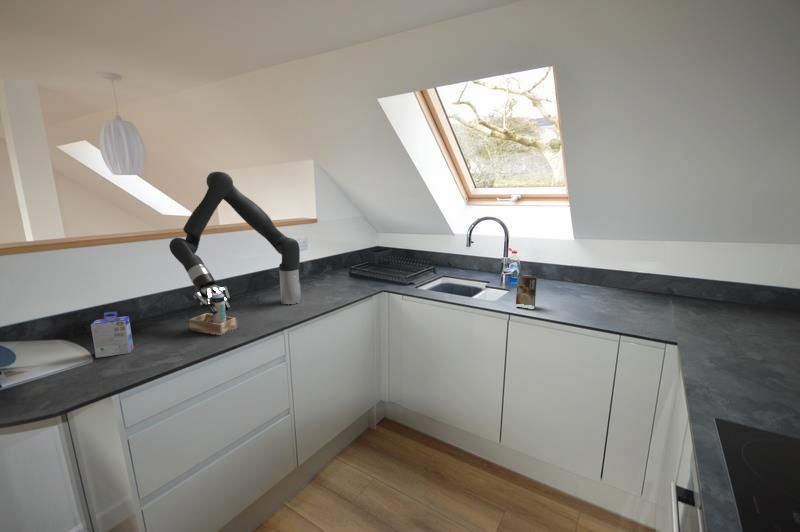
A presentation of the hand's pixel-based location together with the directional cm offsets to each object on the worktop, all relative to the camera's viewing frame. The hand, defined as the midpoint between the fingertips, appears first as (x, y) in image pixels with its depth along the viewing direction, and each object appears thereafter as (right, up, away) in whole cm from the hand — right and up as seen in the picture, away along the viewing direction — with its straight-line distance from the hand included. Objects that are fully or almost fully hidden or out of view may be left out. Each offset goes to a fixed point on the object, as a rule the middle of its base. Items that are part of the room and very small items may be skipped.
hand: (221, 311), depth 147 cm
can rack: (-5, -8, +4) cm, 10 cm away
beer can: (-2, -5, +2) cm, 6 cm away
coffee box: (+134, -3, +36) cm, 139 cm away
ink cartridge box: (-28, -13, -19) cm, 36 cm away
